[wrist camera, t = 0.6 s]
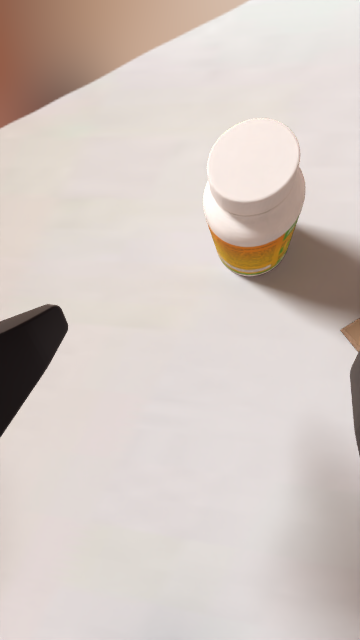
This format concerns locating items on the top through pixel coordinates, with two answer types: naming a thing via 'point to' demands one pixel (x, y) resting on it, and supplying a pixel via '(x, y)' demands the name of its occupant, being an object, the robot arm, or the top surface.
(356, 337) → the bottle holder
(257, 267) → the supplement bottle
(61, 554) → the top surface
